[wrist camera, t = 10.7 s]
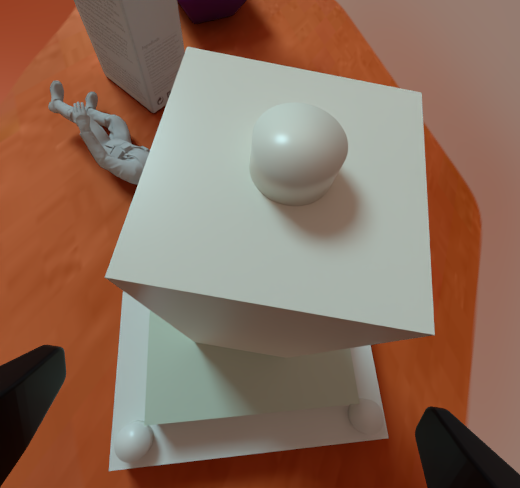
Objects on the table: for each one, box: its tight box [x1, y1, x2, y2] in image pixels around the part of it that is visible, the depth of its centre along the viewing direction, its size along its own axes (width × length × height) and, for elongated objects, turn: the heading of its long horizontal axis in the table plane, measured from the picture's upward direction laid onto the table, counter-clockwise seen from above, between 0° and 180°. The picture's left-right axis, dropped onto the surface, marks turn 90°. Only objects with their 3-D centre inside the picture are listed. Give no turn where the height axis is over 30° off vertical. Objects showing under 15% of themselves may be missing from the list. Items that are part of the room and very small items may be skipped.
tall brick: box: [105, 47, 435, 358], centre depth 10 cm, size 5×5×13 cm
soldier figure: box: [49, 81, 150, 185], centre depth 21 cm, size 8×5×12 cm
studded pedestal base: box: [109, 291, 389, 471], centre depth 18 cm, size 14×14×4 cm
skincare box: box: [74, 0, 185, 113], centre depth 21 cm, size 6×4×12 cm
